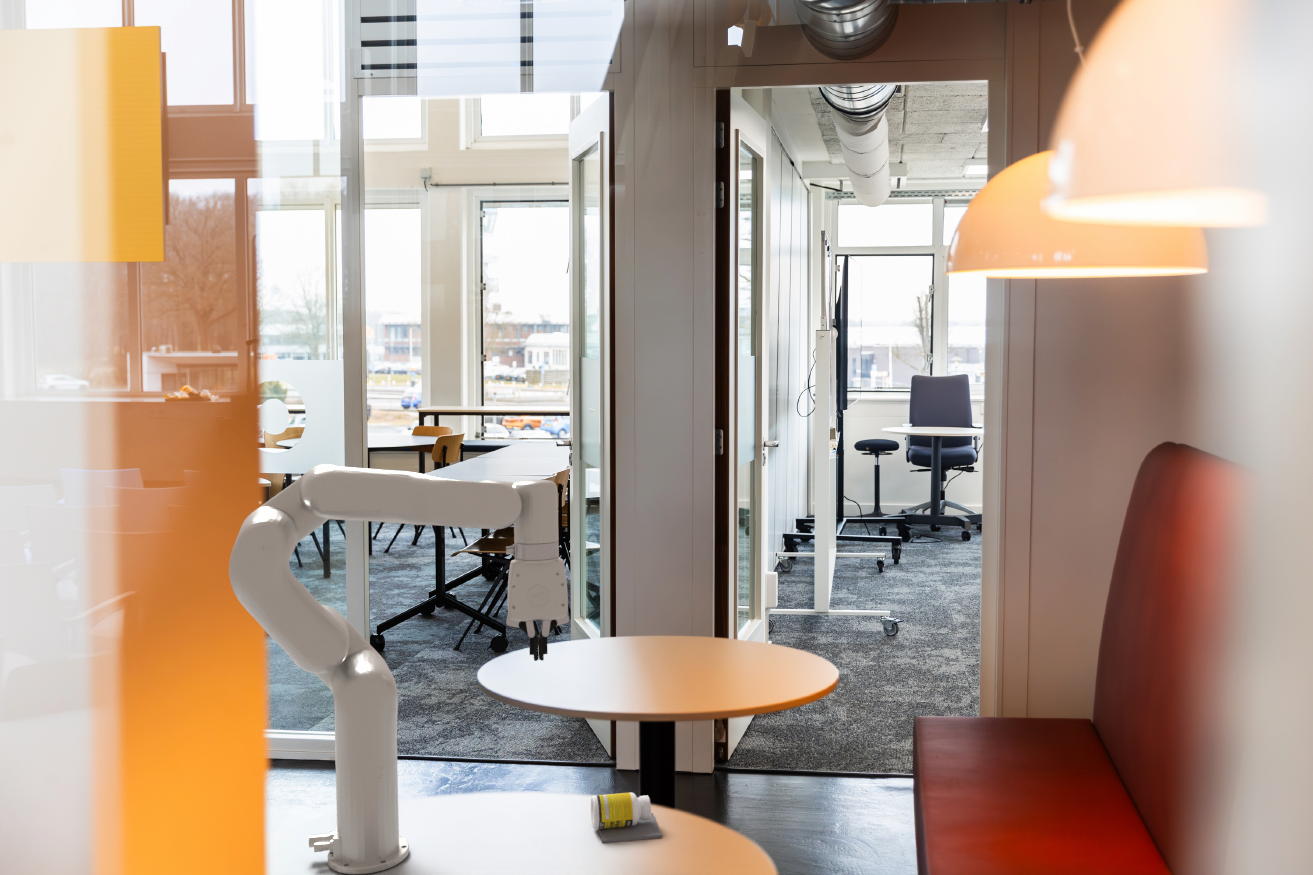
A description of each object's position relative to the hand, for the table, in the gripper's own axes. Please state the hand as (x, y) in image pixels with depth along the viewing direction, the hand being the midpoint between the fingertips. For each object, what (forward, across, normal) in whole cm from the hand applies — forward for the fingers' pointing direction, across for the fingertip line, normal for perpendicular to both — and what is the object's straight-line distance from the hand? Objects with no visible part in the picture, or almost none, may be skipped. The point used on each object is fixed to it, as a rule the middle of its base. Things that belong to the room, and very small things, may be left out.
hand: (538, 658), depth 165 cm
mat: (+29, +14, -4) cm, 33 cm away
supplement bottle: (+26, +8, -4) cm, 27 cm away
